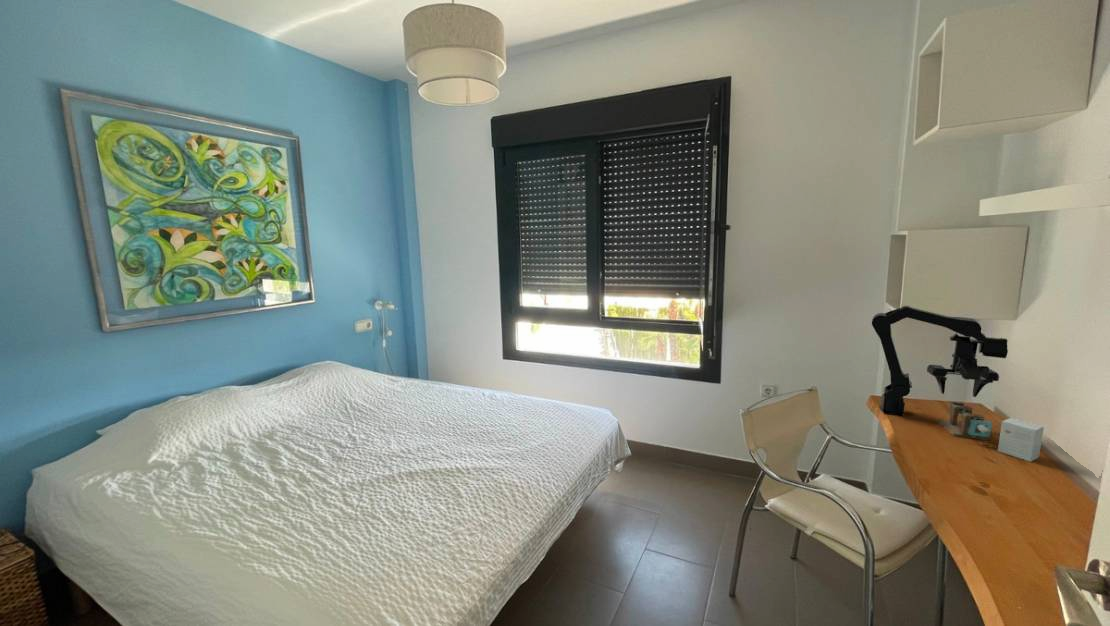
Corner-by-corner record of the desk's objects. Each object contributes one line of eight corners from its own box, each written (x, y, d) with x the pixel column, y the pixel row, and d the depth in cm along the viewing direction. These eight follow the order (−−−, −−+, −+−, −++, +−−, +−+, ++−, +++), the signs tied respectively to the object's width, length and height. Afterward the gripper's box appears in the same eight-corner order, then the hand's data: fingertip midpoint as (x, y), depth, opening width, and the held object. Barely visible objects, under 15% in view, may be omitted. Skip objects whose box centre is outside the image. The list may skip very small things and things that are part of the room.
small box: (1039, 458, 139) (1045, 426, 137) (1030, 462, 137) (1037, 430, 135) (1004, 447, 146) (1010, 417, 144) (996, 451, 144) (1002, 420, 142)
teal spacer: (970, 434, 149) (972, 420, 148) (968, 433, 150) (970, 419, 149) (989, 437, 147) (991, 422, 146) (987, 435, 148) (989, 421, 147)
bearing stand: (953, 436, 154) (956, 414, 153) (937, 421, 166) (940, 400, 165) (990, 440, 151) (994, 418, 149) (971, 424, 163) (974, 403, 161)
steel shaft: (977, 435, 146) (979, 424, 145) (949, 411, 165) (950, 401, 164) (990, 437, 145) (992, 425, 144) (960, 412, 164) (961, 402, 163)
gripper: (942, 357, 155) (935, 399, 158) (1011, 362, 149) (1003, 406, 152) (929, 349, 166) (923, 389, 169) (993, 353, 159) (986, 395, 162)
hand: (958, 395), depth 163 cm, fingers open, 9 cm apart
